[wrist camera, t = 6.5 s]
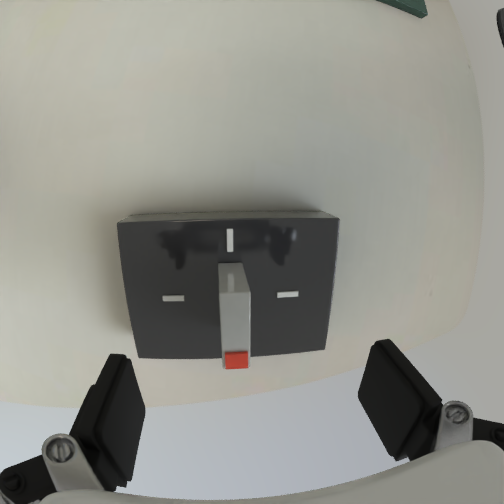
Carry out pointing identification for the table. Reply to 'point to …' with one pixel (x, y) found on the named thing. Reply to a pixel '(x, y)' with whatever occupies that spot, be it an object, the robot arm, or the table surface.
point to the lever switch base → (207, 285)
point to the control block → (409, 6)
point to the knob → (234, 315)
